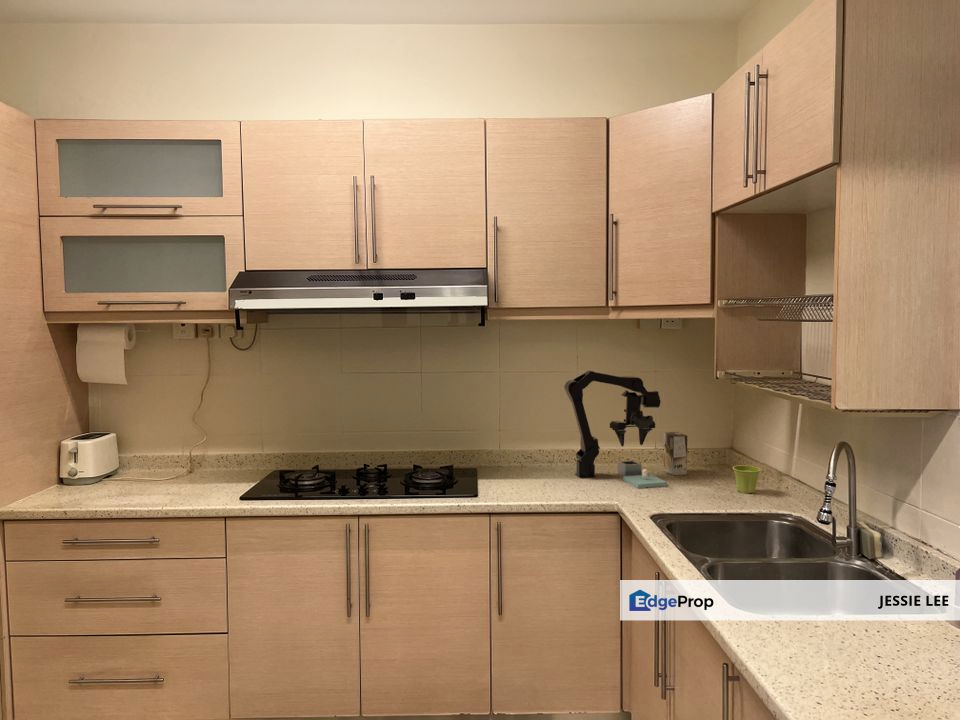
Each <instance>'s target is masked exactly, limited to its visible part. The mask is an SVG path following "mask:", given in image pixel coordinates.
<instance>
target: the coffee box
mask: <svg viewBox="0 0 960 720" xmlns="http://www.w3.org/2000/svg"><path fill="white" fill-rule="evenodd" d="M663 471H665V472H666V473H669V474H670V475H672V476H682V475H683V476H684V475H688V435H686V434H683V433H680V432H678V431H669V432H663Z"/></svg>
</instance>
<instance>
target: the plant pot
mask: <svg viewBox="0 0 960 720" xmlns="http://www.w3.org/2000/svg"><path fill="white" fill-rule="evenodd" d="M732 469H733V472H734V476H735V485H736V490H737V492H739V493H742V494H748V495H749V494H755V493H756V490H757V483H758V478H759V474H760V472H761V470H762V469H761V468H760V467H757V466H753V465H746V464H745V465H743V464H740V465H734V466H732Z"/></svg>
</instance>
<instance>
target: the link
mask: <svg viewBox="0 0 960 720" xmlns="http://www.w3.org/2000/svg"><path fill="white" fill-rule="evenodd" d="M617 474H618V475H619V476H620V477H621V476H622V477H623V478H624V476H637V475H642V464H641V463H639V462H637V461H636V460H621V461H618V460H617Z"/></svg>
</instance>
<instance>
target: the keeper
mask: <svg viewBox="0 0 960 720" xmlns="http://www.w3.org/2000/svg"><path fill="white" fill-rule="evenodd" d="M648 473H649V472H648V469H646V468H645V469H644V468H643V469H641V475H637V476H624V477H623V481H624V482H625V483H628V484H629V483H630V484H629V485H631V484H632V485H631V486H633V487H635V488H636V489H646V487H648V488H660V487H667V486H668V482H667V481H665V480H663V479H662V478H659V477H657V476H655V475H653V474H648Z"/></svg>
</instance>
